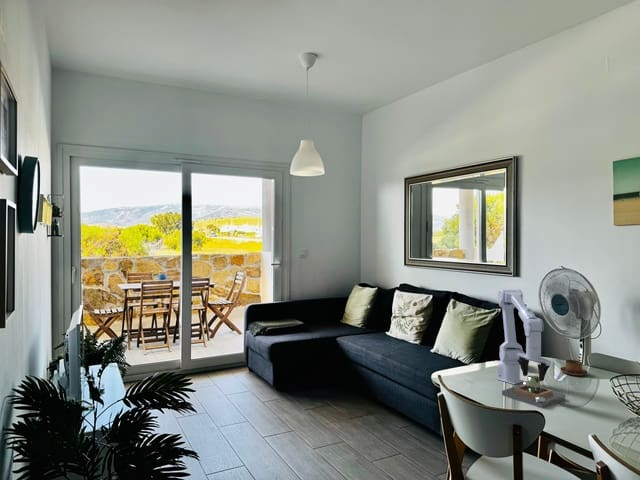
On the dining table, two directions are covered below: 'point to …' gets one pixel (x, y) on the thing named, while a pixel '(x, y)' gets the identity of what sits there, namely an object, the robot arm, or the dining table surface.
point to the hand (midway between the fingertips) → (533, 378)
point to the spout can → (533, 384)
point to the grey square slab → (533, 395)
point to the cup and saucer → (573, 368)
